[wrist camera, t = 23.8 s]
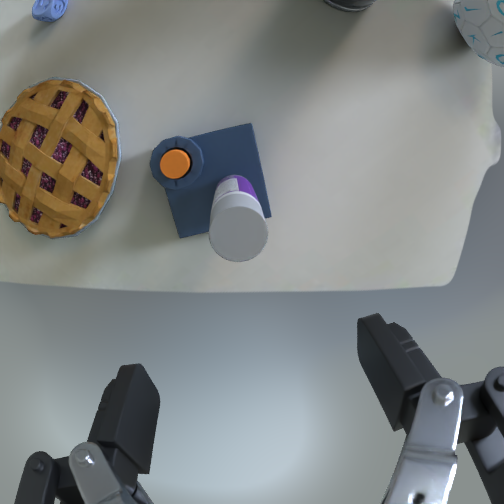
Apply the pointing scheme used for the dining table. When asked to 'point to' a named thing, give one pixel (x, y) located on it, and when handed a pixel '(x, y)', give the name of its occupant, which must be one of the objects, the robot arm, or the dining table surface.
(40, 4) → the decorative dice
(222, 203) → the container
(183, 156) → the button
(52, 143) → the pie
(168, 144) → the scale
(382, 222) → the dining table surface
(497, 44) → the puzzle ball
